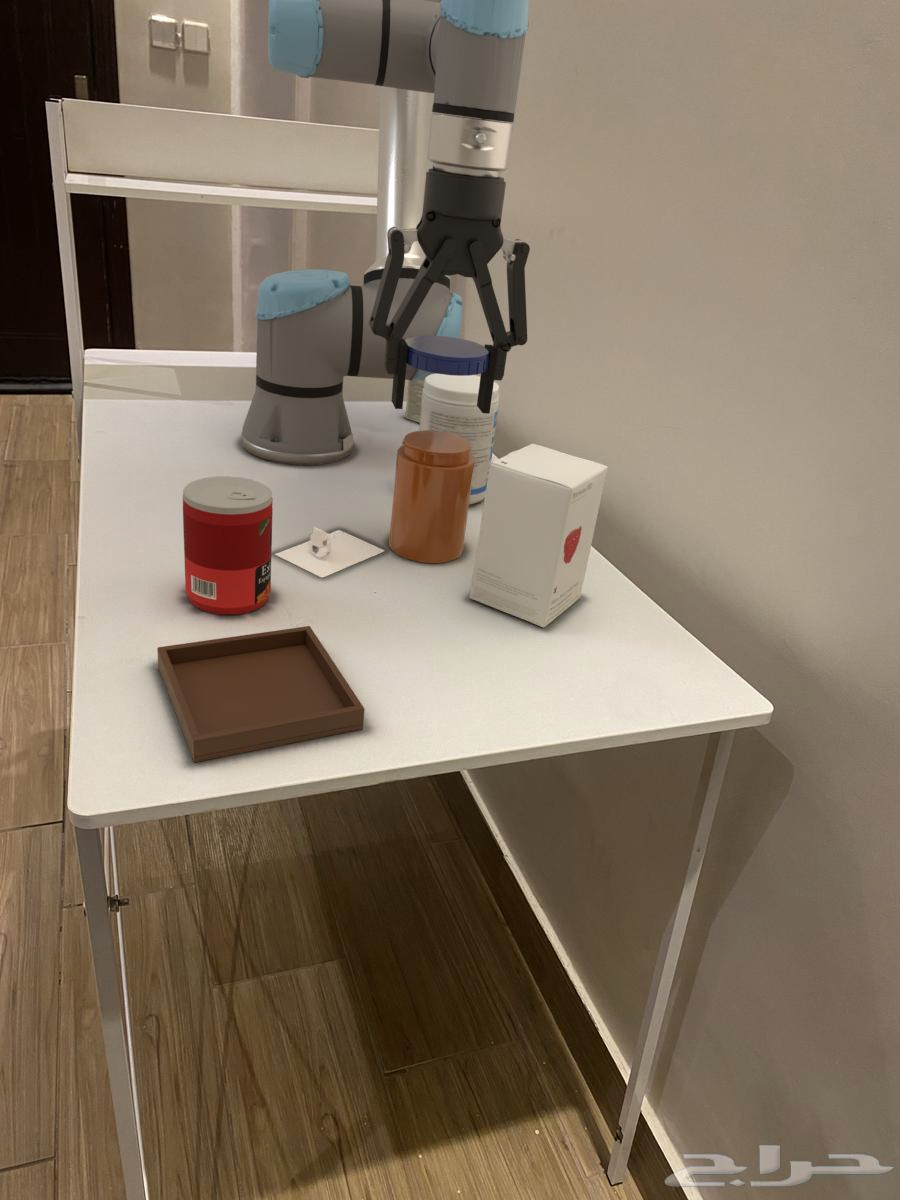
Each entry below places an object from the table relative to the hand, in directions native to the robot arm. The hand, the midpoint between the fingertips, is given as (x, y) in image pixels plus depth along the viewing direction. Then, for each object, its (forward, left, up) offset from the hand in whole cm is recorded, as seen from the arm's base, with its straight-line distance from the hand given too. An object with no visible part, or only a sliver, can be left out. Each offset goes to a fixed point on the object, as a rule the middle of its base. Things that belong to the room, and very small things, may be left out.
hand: (440, 407), depth 95 cm
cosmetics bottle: (-43, +20, -16) cm, 50 cm away
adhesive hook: (-1, -11, -16) cm, 20 cm away
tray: (+23, -26, -16) cm, 38 cm away
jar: (0, 0, -16) cm, 16 cm away
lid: (0, 0, +6) cm, 6 cm away
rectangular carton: (+14, +5, -16) cm, 22 cm away
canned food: (+6, -24, -16) cm, 30 cm away
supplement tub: (-14, +10, -16) cm, 24 cm away
